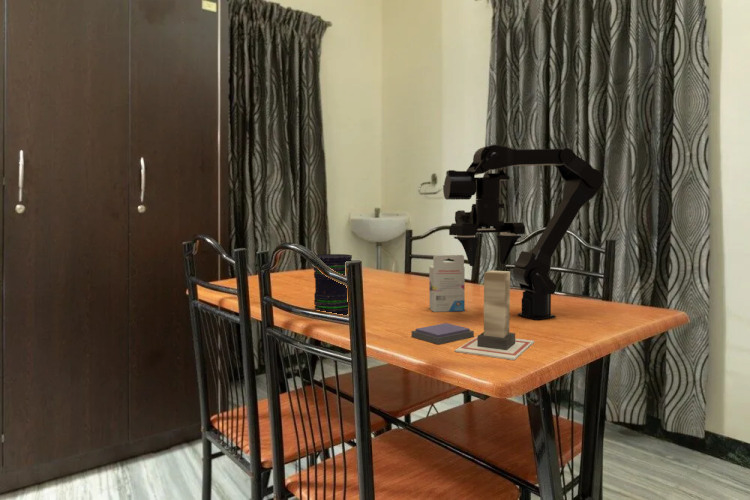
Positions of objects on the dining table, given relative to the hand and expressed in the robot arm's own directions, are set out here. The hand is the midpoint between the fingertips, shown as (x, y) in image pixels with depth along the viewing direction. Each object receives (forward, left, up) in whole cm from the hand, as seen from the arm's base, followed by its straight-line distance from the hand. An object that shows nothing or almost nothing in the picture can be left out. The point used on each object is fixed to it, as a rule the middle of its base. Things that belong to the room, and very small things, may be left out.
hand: (487, 265), depth 121 cm
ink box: (+2, -14, -13) cm, 19 cm away
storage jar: (+30, -24, -13) cm, 41 cm away
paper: (+15, +21, -13) cm, 29 cm away
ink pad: (+19, +10, -13) cm, 25 cm away
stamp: (+15, +21, -13) cm, 29 cm away
